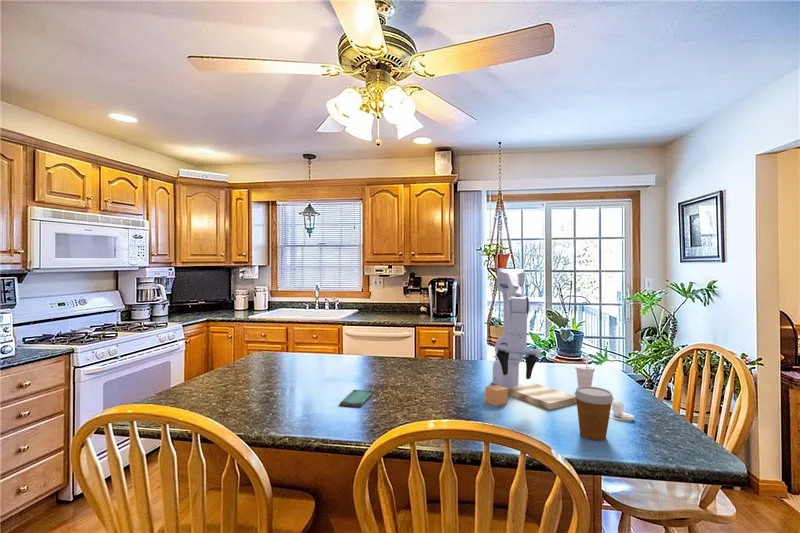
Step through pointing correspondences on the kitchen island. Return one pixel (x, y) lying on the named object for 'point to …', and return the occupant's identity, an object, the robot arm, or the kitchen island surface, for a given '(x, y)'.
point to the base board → (542, 396)
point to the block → (496, 395)
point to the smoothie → (584, 374)
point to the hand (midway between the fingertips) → (516, 376)
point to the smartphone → (356, 398)
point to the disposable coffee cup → (593, 411)
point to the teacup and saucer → (620, 412)
